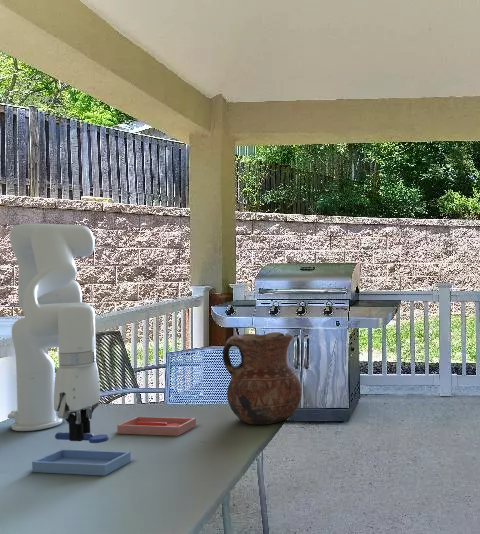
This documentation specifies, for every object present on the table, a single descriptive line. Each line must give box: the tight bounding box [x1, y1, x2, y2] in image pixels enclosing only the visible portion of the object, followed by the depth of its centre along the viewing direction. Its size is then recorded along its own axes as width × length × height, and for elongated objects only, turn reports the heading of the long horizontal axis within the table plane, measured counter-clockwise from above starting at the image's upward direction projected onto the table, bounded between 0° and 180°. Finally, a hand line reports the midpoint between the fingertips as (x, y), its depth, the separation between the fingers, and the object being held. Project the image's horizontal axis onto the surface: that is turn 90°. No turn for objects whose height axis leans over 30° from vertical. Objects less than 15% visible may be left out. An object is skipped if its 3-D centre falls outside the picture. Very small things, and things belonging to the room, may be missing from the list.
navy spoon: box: [54, 431, 110, 444], centre depth 139 cm, size 13×4×2 cm, turn 80°
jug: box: [222, 331, 303, 426], centre depth 177 cm, size 22×21×25 cm
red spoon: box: [135, 422, 180, 427], centre depth 168 cm, size 13×4×2 cm, turn 80°
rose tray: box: [116, 416, 197, 437], centre depth 168 cm, size 18×9×2 cm, turn 80°
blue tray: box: [31, 448, 132, 477], centre depth 139 cm, size 18×9×2 cm, turn 80°
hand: (80, 438), depth 139 cm, fingers closed on navy spoon, 1 cm apart
